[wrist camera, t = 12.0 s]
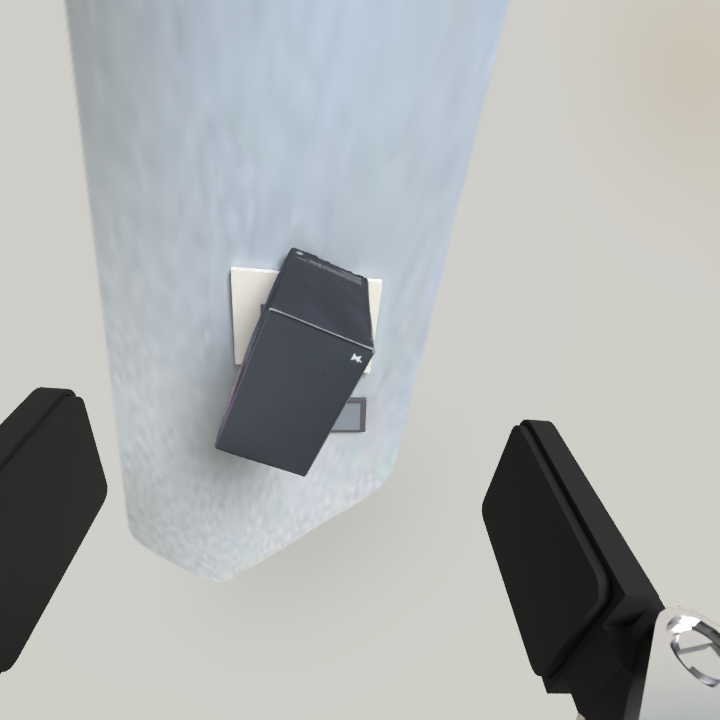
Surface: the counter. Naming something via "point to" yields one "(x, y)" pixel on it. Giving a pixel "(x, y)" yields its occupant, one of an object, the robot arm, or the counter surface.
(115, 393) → the counter surface
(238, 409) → the small box
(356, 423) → the phone
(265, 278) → the outlet plate
